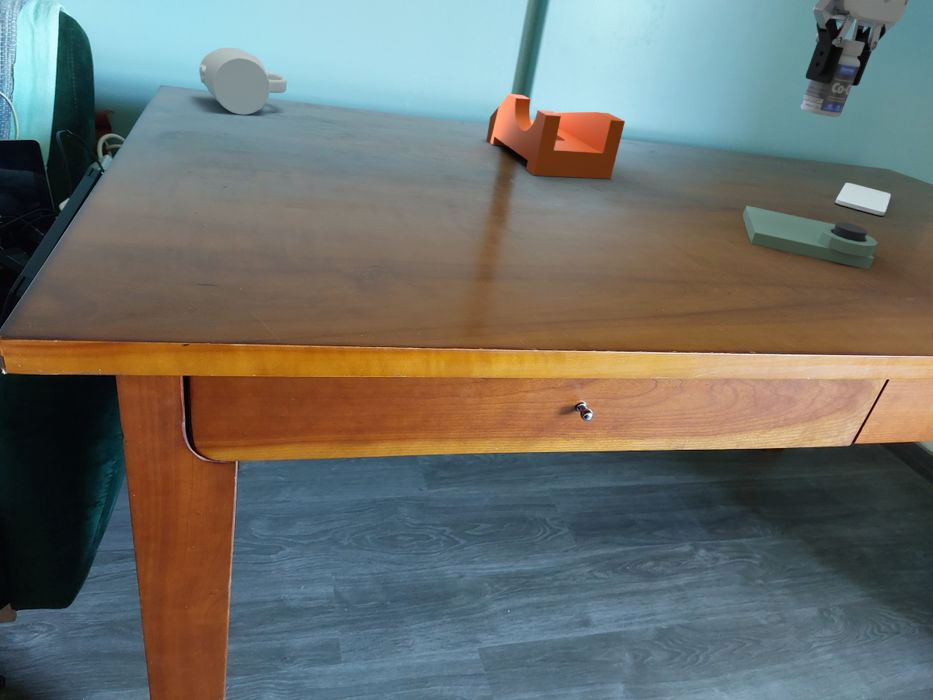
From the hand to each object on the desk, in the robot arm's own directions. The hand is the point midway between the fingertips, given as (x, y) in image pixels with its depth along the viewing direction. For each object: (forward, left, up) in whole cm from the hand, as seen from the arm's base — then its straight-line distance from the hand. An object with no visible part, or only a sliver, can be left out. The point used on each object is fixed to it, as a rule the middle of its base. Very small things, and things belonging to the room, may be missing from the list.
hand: (832, 80), depth 87 cm
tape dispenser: (+33, -13, -19) cm, 40 cm away
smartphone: (-17, -29, -19) cm, 39 cm away
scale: (-3, +2, -19) cm, 19 cm away
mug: (+79, -5, -19) cm, 82 cm away
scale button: (-7, +6, -16) cm, 19 cm away
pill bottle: (0, 0, -4) cm, 4 cm away
